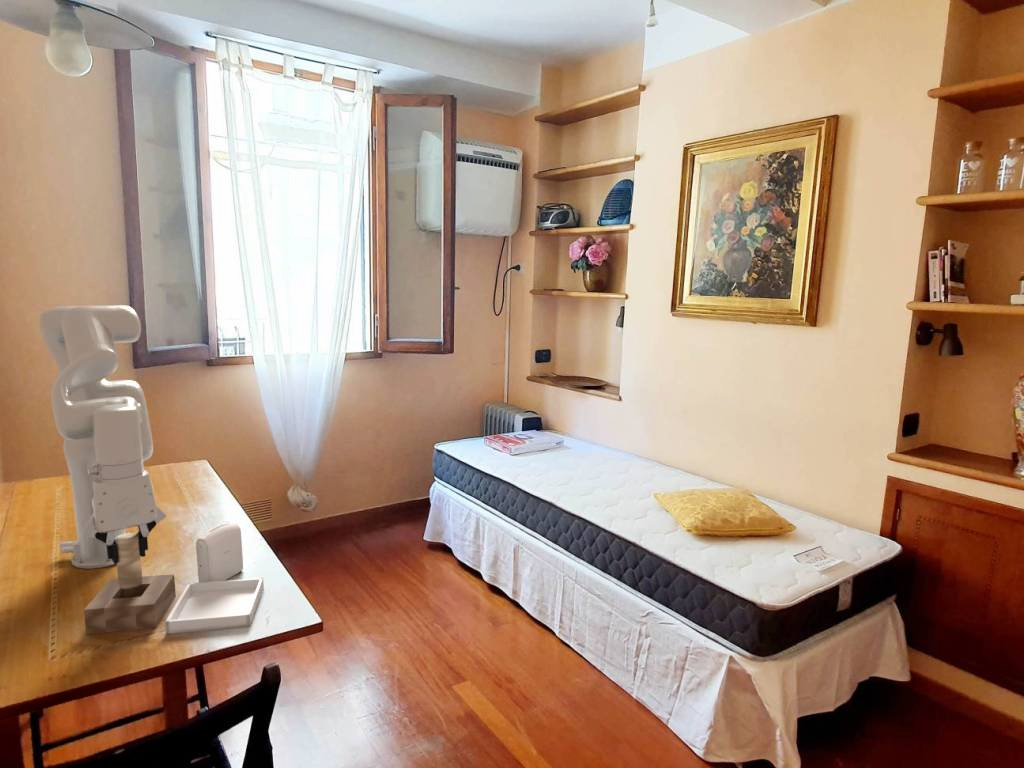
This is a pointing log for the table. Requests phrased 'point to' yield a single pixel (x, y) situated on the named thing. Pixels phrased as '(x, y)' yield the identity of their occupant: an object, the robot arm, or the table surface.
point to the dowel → (128, 560)
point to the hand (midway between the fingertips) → (128, 556)
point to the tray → (215, 605)
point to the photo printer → (219, 553)
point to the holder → (130, 605)
